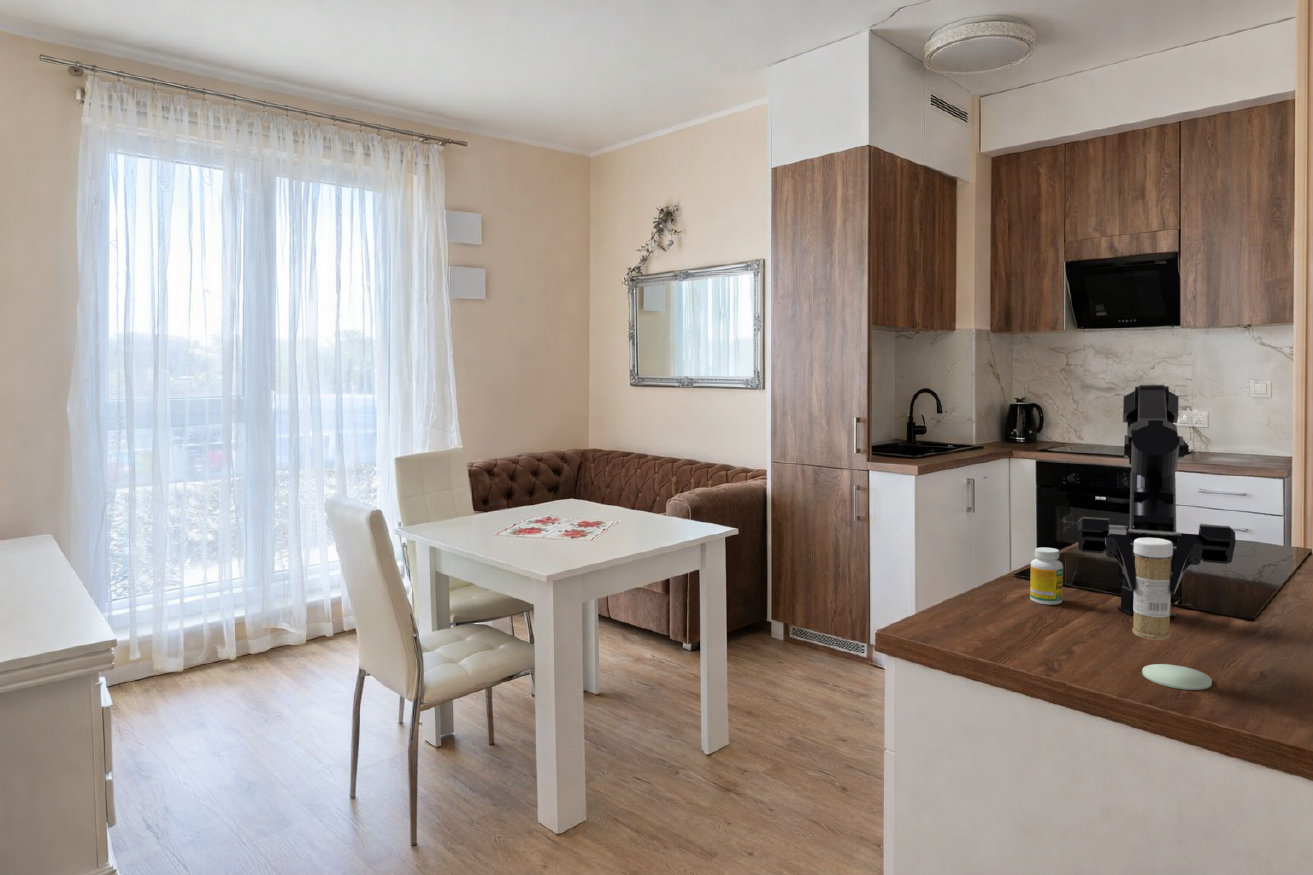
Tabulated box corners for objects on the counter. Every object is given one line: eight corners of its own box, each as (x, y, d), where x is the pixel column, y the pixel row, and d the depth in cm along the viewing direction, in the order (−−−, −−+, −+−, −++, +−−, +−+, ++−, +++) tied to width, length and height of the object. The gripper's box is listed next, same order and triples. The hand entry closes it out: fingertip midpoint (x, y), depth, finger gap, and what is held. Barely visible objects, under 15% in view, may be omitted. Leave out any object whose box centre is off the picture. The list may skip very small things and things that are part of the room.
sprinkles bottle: (1168, 632, 112) (1171, 537, 111) (1171, 643, 108) (1174, 545, 107) (1130, 628, 114) (1132, 535, 113) (1132, 638, 110) (1135, 542, 109)
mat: (1181, 665, 115) (1182, 662, 115) (1226, 687, 107) (1226, 684, 107) (1129, 669, 114) (1129, 665, 114) (1170, 691, 106) (1170, 687, 106)
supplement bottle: (1032, 595, 151) (1033, 545, 150) (1064, 599, 148) (1065, 548, 147) (1027, 602, 147) (1028, 551, 146) (1060, 606, 144) (1061, 554, 143)
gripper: (1224, 534, 119) (1230, 629, 110) (1081, 524, 128) (1076, 611, 120) (1232, 489, 111) (1239, 588, 103) (1080, 482, 121) (1074, 572, 112)
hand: (1152, 591), depth 110 cm, fingers closed on sprinkles bottle, 4 cm apart
